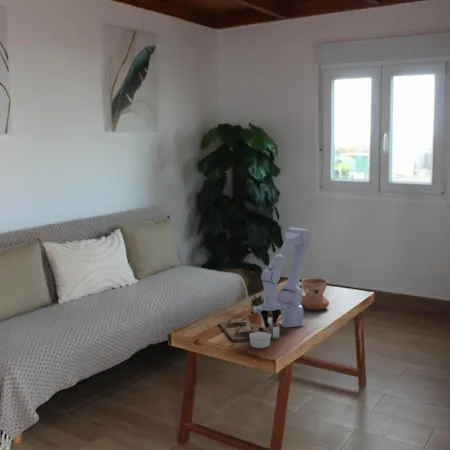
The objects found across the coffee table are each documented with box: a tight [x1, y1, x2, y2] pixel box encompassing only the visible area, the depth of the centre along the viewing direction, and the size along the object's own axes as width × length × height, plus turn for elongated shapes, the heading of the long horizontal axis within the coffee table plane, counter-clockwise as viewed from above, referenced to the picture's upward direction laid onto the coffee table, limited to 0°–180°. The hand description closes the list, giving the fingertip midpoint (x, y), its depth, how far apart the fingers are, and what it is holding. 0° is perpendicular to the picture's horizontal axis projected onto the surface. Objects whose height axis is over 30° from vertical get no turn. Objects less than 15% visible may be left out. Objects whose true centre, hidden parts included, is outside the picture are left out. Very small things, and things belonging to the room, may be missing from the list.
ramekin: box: [249, 331, 272, 349], centre depth 249 cm, size 9×9×4 cm
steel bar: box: [260, 315, 280, 339], centre depth 264 cm, size 16×3×5 cm, turn 15°
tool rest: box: [218, 316, 261, 343], centre depth 265 cm, size 14×24×4 cm, turn 14°
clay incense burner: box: [300, 277, 330, 312], centre depth 299 cm, size 18×14×14 cm
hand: (270, 326), depth 264 cm, fingers closed on steel bar, 3 cm apart
